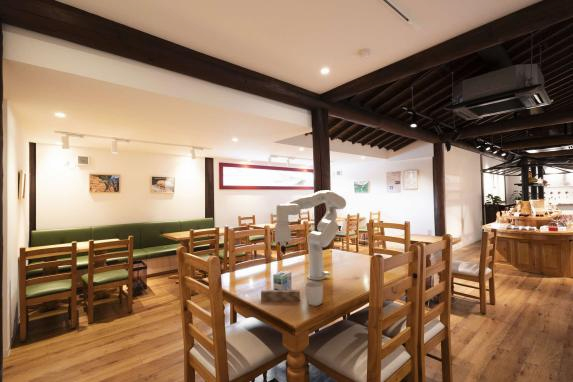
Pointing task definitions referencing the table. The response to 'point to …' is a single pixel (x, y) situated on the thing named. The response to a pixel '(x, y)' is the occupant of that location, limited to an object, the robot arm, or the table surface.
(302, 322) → the table surface
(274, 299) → the walnut board
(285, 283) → the light bulb box
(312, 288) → the mug
